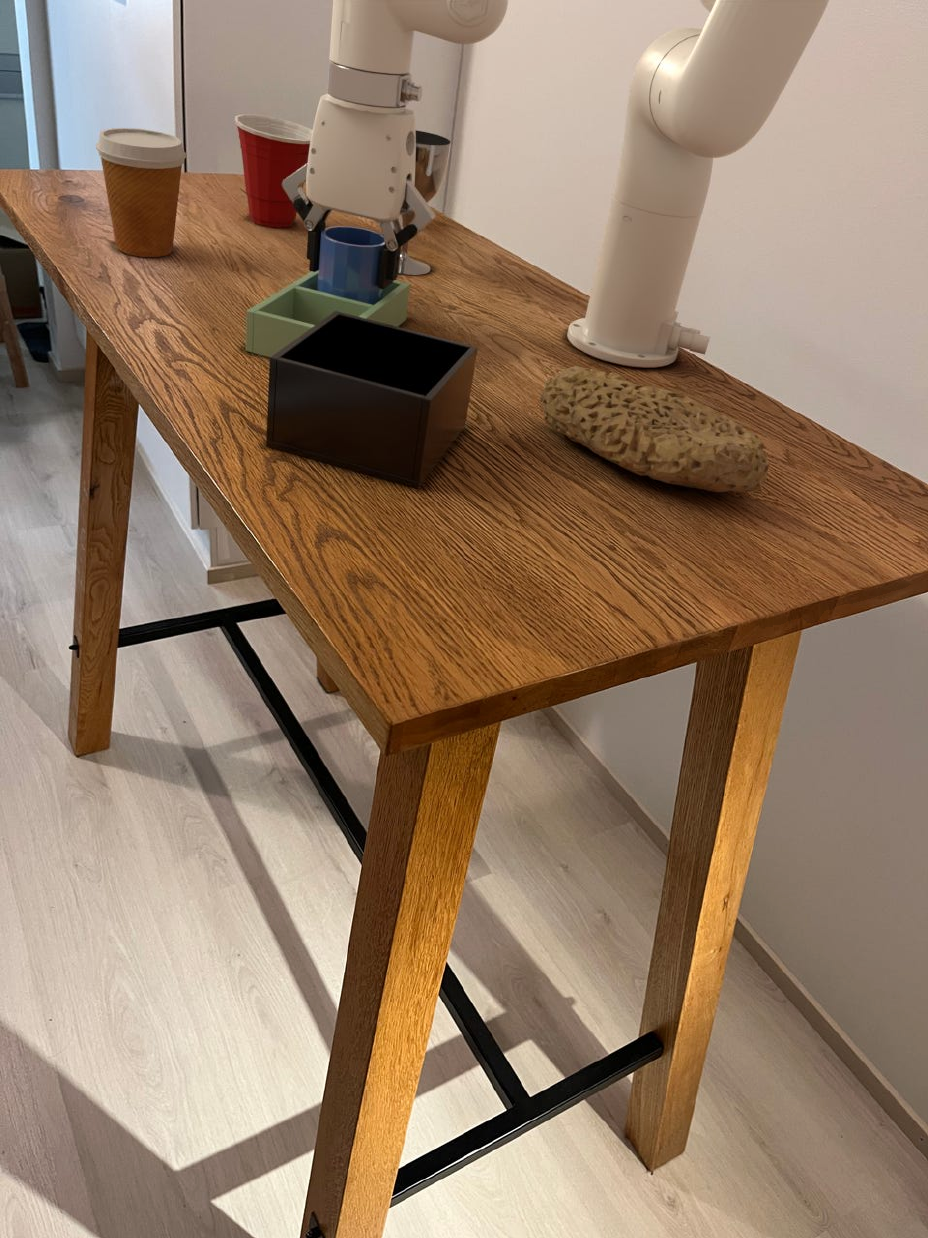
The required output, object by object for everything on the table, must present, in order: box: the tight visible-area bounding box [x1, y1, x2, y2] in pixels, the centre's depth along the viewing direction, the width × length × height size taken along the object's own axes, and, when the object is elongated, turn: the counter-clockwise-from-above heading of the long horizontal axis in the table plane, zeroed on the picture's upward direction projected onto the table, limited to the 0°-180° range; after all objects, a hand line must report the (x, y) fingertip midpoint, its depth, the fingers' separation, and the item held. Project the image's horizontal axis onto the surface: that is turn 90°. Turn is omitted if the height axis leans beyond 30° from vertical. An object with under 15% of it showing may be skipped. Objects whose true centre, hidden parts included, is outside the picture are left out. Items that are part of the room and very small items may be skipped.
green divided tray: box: [245, 270, 411, 358], centre depth 104 cm, size 10×19×4 cm, turn 163°
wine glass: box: [398, 129, 452, 276], centre depth 124 cm, size 8×8×15 cm
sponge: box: [540, 365, 771, 493], centre depth 89 cm, size 13×8×20 cm
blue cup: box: [317, 225, 385, 305], centre depth 106 cm, size 7×7×9 cm
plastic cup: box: [234, 113, 313, 228], centre depth 131 cm, size 11×11×12 cm
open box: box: [265, 311, 479, 489], centre depth 85 cm, size 13×13×8 cm
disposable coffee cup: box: [95, 127, 187, 258], centre depth 115 cm, size 10×10×12 cm
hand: (351, 275), depth 106 cm, fingers closed on blue cup, 6 cm apart
